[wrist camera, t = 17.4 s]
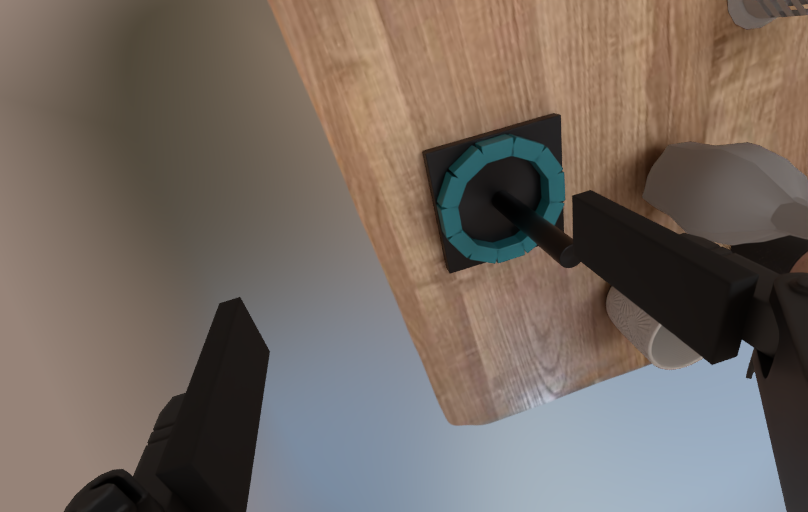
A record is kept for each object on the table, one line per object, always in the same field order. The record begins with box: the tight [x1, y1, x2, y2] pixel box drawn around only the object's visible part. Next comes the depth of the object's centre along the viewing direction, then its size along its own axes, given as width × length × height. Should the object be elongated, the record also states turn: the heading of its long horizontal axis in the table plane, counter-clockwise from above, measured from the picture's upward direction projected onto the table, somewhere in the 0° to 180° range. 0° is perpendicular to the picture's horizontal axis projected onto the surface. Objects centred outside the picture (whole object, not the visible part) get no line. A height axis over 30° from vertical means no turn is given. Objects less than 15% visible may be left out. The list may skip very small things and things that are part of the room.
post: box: [423, 113, 581, 273], centre depth 41 cm, size 16×16×16 cm
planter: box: [606, 286, 703, 370], centre depth 56 cm, size 12×12×11 cm
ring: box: [437, 134, 565, 264], centre depth 46 cm, size 15×15×2 cm
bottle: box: [642, 142, 808, 245], centre depth 38 cm, size 11×11×30 cm
